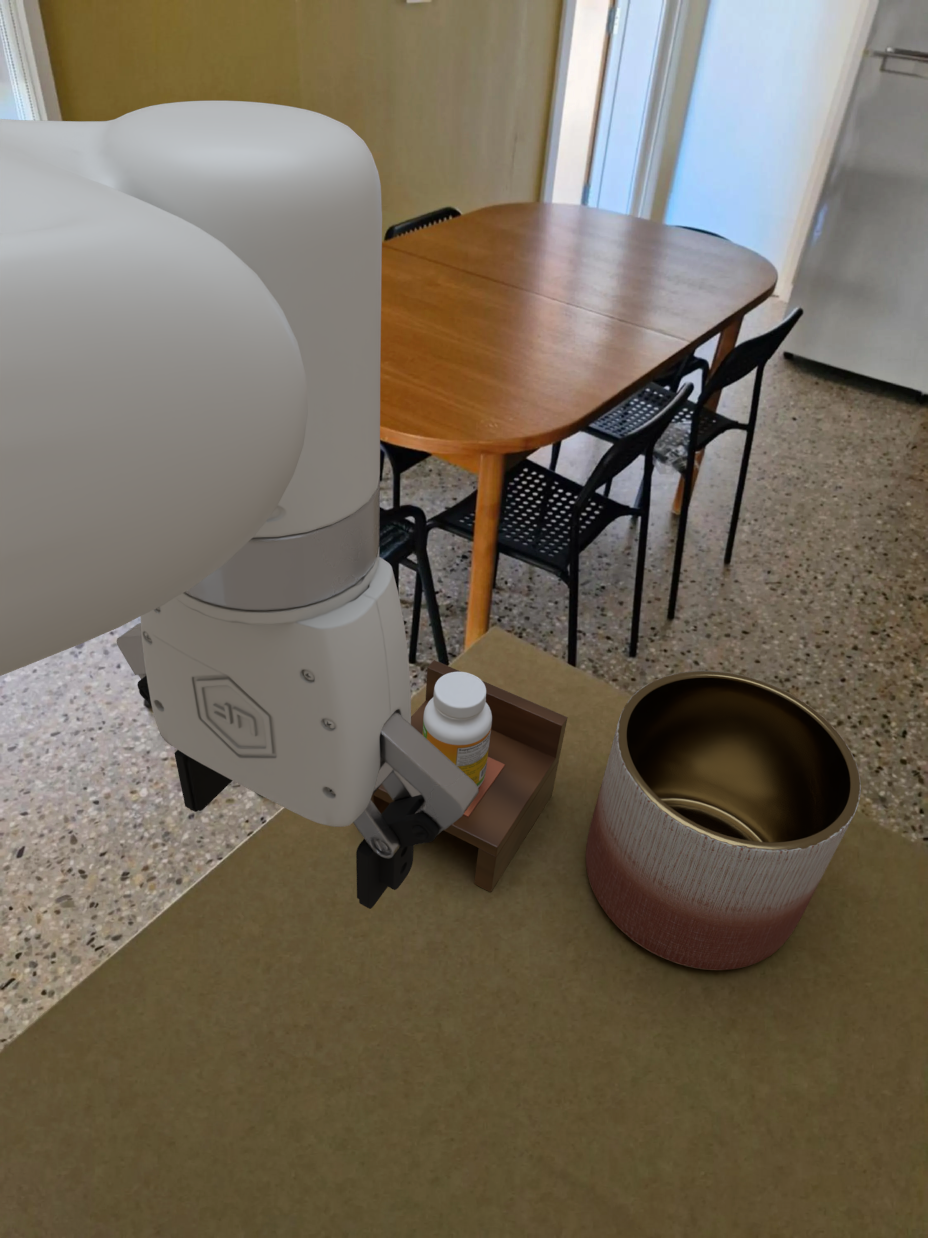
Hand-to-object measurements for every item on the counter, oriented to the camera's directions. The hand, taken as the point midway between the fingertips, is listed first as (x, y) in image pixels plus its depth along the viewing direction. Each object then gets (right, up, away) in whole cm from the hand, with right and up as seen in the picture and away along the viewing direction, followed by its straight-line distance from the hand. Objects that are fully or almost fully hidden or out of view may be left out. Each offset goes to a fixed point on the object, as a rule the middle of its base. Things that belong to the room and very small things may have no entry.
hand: (295, 834), depth 41 cm
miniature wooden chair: (+7, -7, +37) cm, 39 cm away
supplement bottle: (+7, -3, +32) cm, 33 cm away
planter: (+27, -12, +33) cm, 44 cm away
